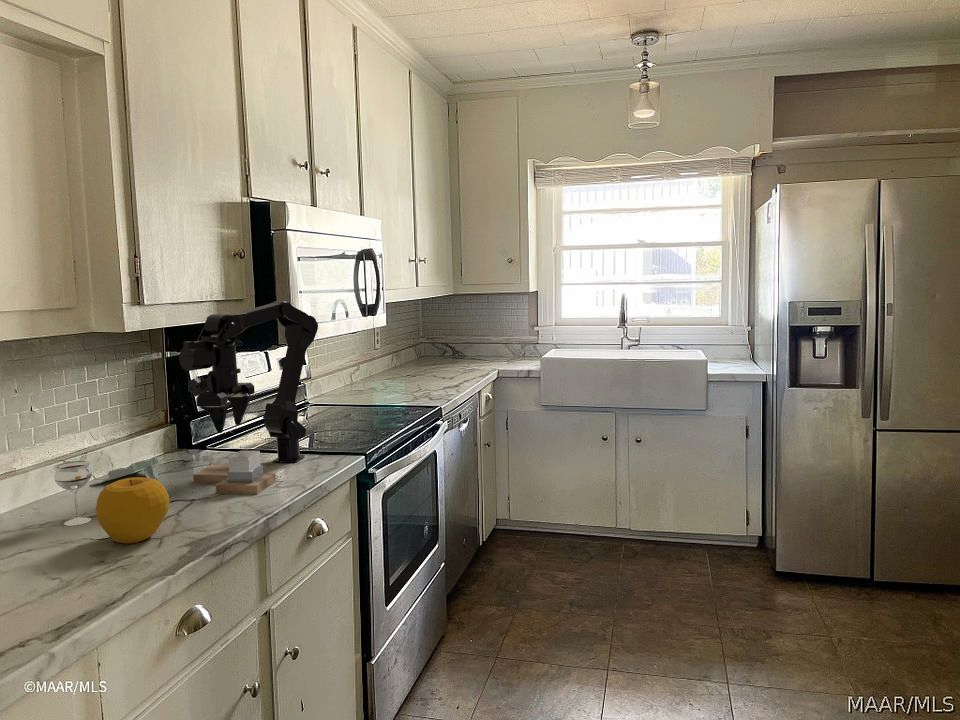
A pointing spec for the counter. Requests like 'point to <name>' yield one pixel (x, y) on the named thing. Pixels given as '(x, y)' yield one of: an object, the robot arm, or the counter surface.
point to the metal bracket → (135, 470)
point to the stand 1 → (212, 474)
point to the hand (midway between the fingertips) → (229, 428)
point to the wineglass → (73, 483)
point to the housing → (245, 467)
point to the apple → (132, 508)
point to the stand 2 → (246, 485)
